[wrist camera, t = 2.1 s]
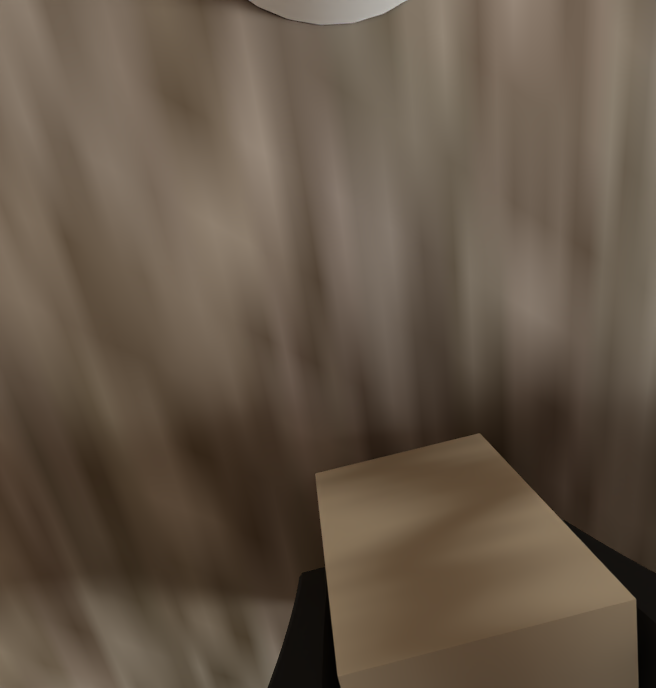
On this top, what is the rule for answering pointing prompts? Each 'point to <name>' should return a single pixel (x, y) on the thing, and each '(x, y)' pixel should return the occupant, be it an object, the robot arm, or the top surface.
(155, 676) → the top surface
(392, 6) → the cylindrical container
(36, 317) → the top surface
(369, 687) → the block
